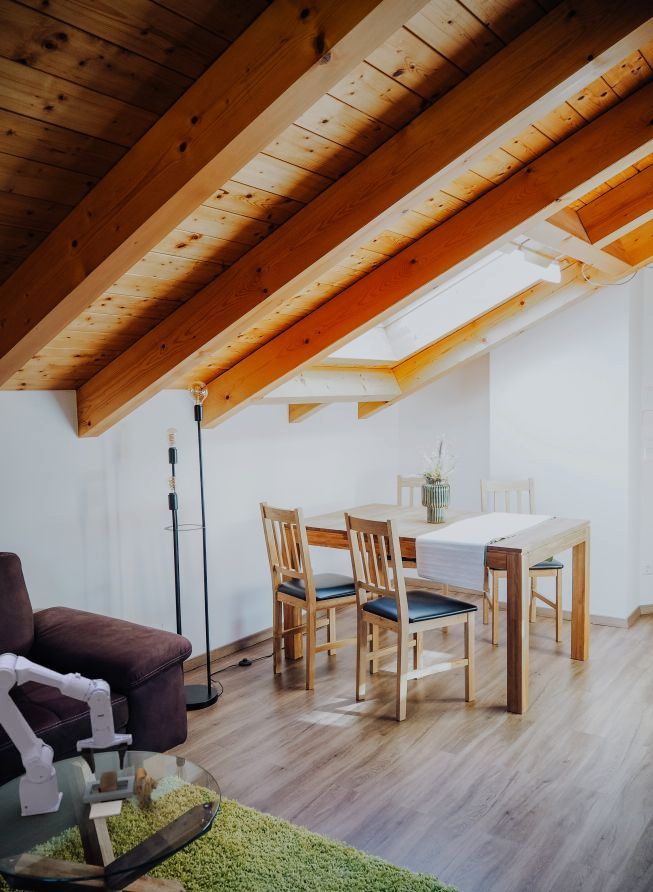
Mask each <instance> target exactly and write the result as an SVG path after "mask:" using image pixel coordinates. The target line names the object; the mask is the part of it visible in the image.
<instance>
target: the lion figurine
mask: <svg viewBox="0 0 653 892" xmlns="http://www.w3.org/2000/svg"><path fill="white" fill-rule="evenodd" d="M134 776H135V789H134V792H133V794H135V795H137V798H138V801H139V804H138V806H139V807H143V806H144V800H143V798H146V800H147V802H148V803H152V802H153V801H154V800H153V798H152V797H151V794H152V793H153V791H154V790H157V787H158V785H159V782H158V781H156V780H155V779H154V778H152V775H150V774H149V775H148V773H147V770H146V769H145V768H144V767H139V768H137V769H136V770H135V773H134Z"/></svg>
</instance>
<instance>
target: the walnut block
mask: <svg viewBox="0 0 653 892" xmlns="http://www.w3.org/2000/svg"><path fill="white" fill-rule="evenodd" d="M117 772H118V771H117V770H111V771H105V772H101V774H100V779H99V780H100V786H101V788H100V793H102V792H109V791H117V790H119V786H118V781H117V778H118V774H117Z"/></svg>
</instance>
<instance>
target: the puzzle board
mask: <svg viewBox="0 0 653 892" xmlns="http://www.w3.org/2000/svg"><path fill="white" fill-rule="evenodd" d="M117 781H118V787H119V786H126V787H127V788H125V789H118V790H117V791H109V792H102V793H101V792H95V793H93V791H92V789H93V790H98V789H101V786H100V779H99V780H92V781H87V782H86V786H85V789H84V794H83V797H82V801H83V802H82V803H83V804H90V803H96V802H105V801H112V800H117V799H119V800H120V799H125V798H133V797H134V792H135V787H136V783H135V775H129V776H121V777H117ZM95 788H97V789H95Z"/></svg>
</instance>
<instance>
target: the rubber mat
mask: <svg viewBox="0 0 653 892" xmlns="http://www.w3.org/2000/svg"><path fill="white" fill-rule="evenodd" d="M122 806H123V799H122V800H120V799H119V800H114V801H107V802H100V803H94V804H91V808H90V812H89V820H95V819H101V818H108V817H115V816H120V815H121V812H122V808H123V807H122Z"/></svg>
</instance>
